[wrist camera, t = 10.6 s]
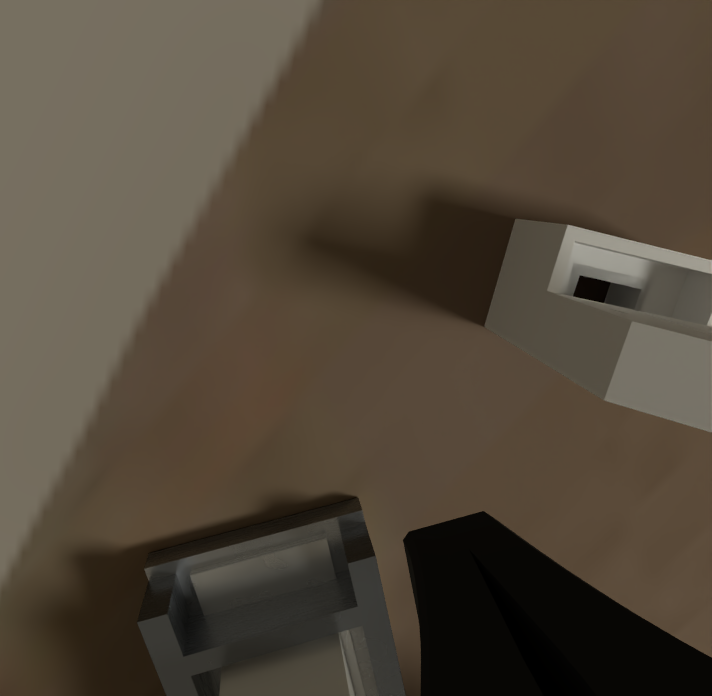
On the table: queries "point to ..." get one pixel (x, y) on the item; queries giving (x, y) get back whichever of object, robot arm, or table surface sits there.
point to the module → (292, 672)
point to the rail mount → (269, 600)
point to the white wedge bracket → (611, 317)
